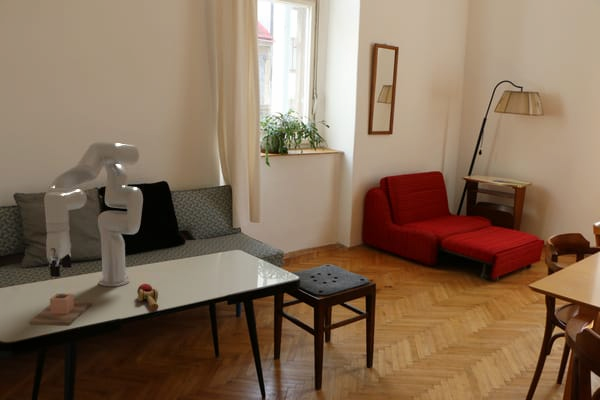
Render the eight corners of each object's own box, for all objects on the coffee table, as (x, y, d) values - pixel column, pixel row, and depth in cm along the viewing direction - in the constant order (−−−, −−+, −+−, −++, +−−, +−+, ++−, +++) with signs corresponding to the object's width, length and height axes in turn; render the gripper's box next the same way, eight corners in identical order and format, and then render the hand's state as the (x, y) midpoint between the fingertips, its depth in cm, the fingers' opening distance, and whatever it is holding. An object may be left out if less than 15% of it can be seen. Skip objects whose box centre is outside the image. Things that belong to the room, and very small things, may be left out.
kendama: (166, 311, 203) (154, 291, 218) (163, 297, 201) (151, 277, 216) (146, 318, 200) (135, 297, 215) (143, 304, 197) (132, 283, 212)
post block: (55, 303, 205) (54, 285, 204) (91, 303, 205) (91, 286, 204) (30, 323, 185) (28, 304, 184) (70, 324, 186) (69, 305, 184)
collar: (57, 307, 198) (57, 293, 197) (74, 307, 198) (73, 293, 197) (50, 313, 192) (49, 299, 191) (67, 313, 192) (66, 299, 191)
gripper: (58, 220, 198) (61, 264, 202) (35, 232, 181) (39, 280, 185) (78, 220, 198) (81, 264, 202) (57, 233, 181) (61, 280, 185)
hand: (61, 271), depth 193 cm, fingers open, 9 cm apart
